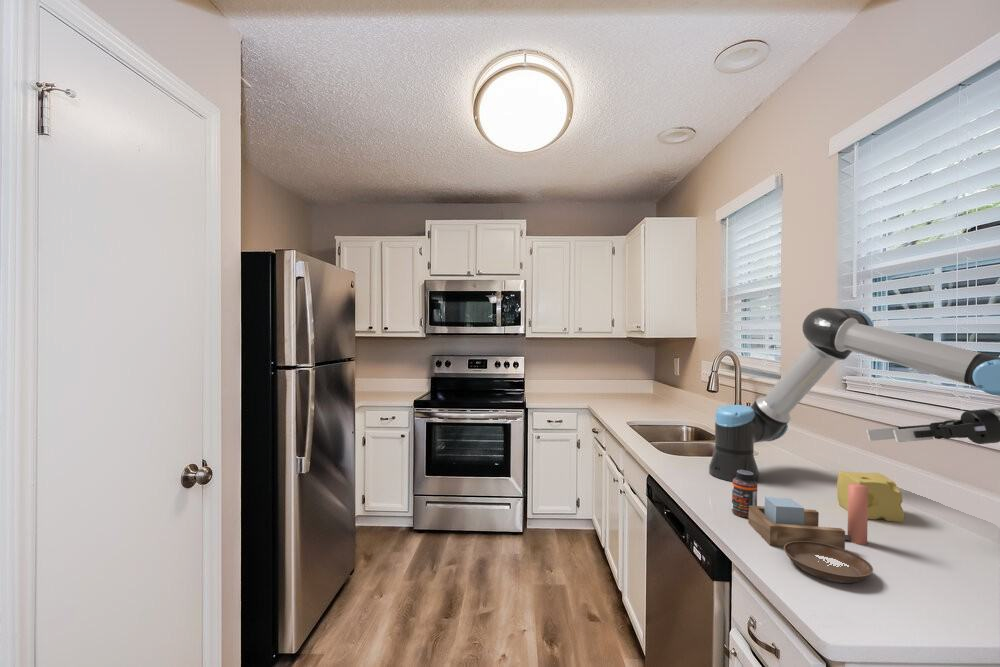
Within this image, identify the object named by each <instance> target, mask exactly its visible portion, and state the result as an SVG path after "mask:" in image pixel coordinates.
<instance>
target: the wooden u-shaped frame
mask: <svg viewBox="0 0 1000 667" xmlns="http://www.w3.org/2000/svg"><path fill="white" fill-rule="evenodd" d="M819 515H820V514H819V511H818V510H816V509H805V508H804V526H803V525H789V524H776V523H773V522H772V521H771V520H770V519H769V518H768V517H767V516H766V515H765V505H764V506H761V505H757V506H749V518H748V520H747V521H748V524H749V525H750V527H752V529H753V530H754V531H755V532H756V533H757V532H758V533H759V534H760V535H761V536H760V535H759V534H758V533H757V534H758V535H759V536H760V537H761V538H762V539H763V540H764V541H765V543H767V544H768V545H769V546H773V547H784V546H785V544H787V543H789V542H793V541H810V542H817V543H823V544H827V545H831V546H835V547H838V548H841V549H844V550H846V540H845V535H846V531H845V529H843V528H841V527H830V526H829V527H827V526H819V517H820V516H819Z"/></svg>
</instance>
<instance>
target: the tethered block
mask: <svg viewBox="0 0 1000 667" xmlns="http://www.w3.org/2000/svg"><path fill="white" fill-rule="evenodd" d="M764 507H765V515H766V516H767V517H768V518H769V519H770V520H771V521H772V522H773V523H776V524H789V525H803V526H804V509H805V507H803V506H802V505H800V504H799V503H797V501H795V500H794V499H792V498H786V497H773V496H772V497H771V496H764ZM868 521H869V519H868V487H867V486H865V485H861V484H856V483H849V484H848V510H847V534H845V541H849V542H851V543H852V542H853V544H855V543H856V545H860V546H861V545H862V546H865V545H868V524H869V523H868Z"/></svg>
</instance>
